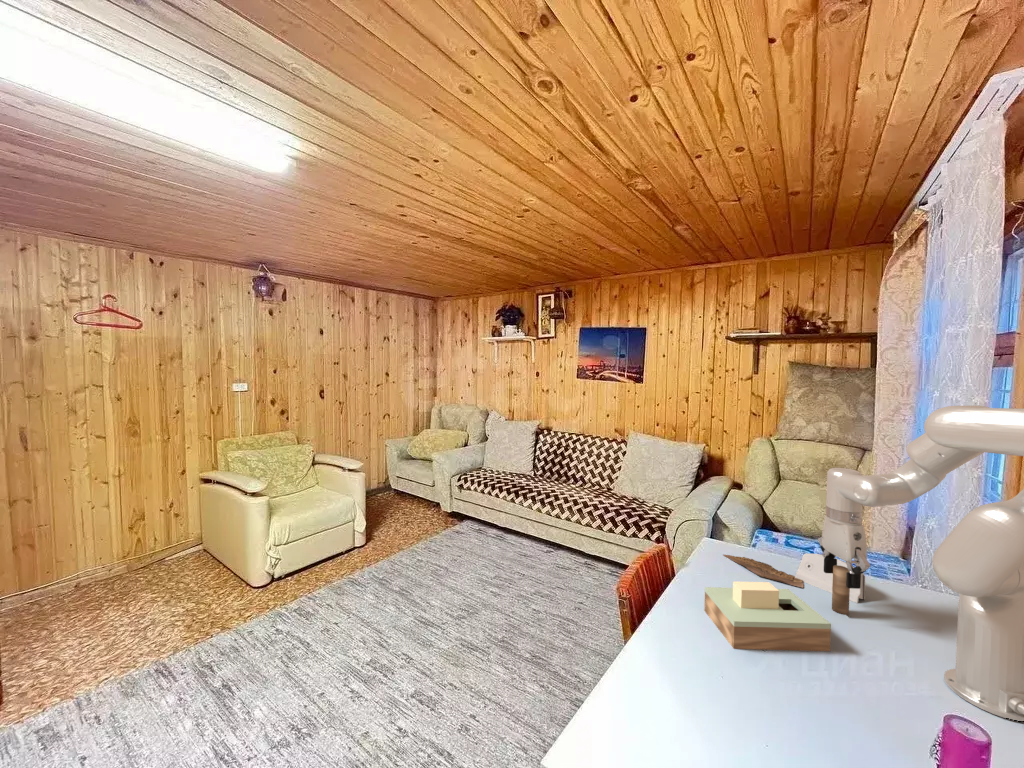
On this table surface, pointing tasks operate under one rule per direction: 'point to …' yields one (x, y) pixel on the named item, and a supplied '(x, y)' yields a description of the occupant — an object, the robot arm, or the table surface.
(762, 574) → the wooden fragment
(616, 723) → the table surface
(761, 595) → the lid
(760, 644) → the box with square hole
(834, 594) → the pin
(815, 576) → the white curved device casing
